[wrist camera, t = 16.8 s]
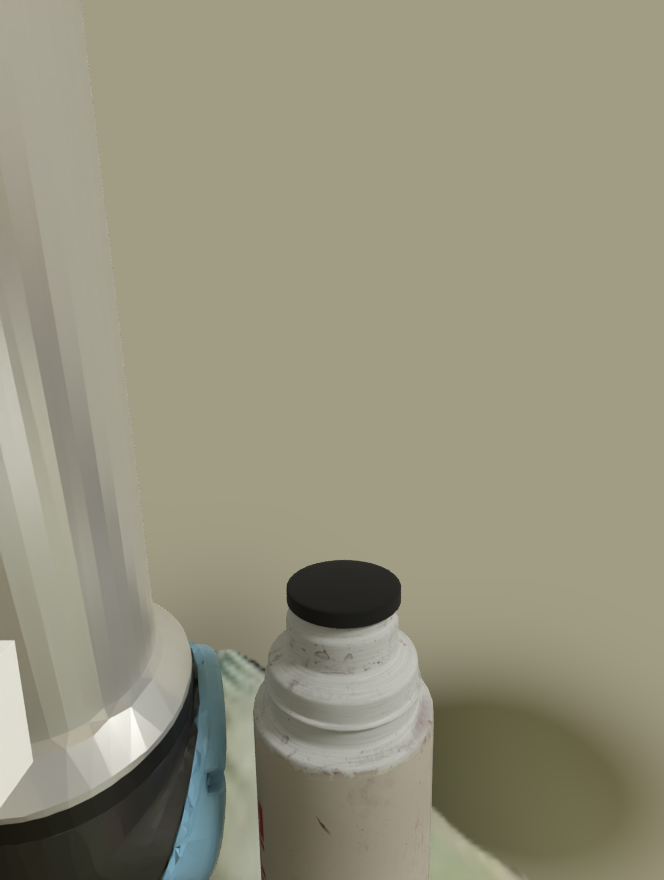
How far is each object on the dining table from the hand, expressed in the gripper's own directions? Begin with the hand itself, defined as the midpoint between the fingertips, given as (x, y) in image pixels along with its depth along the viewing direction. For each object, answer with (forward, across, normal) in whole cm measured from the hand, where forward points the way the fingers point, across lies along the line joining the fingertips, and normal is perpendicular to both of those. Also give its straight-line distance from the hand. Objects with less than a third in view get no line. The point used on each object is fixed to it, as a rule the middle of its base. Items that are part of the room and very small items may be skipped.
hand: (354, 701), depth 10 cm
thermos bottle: (+11, 0, -32) cm, 33 cm away
